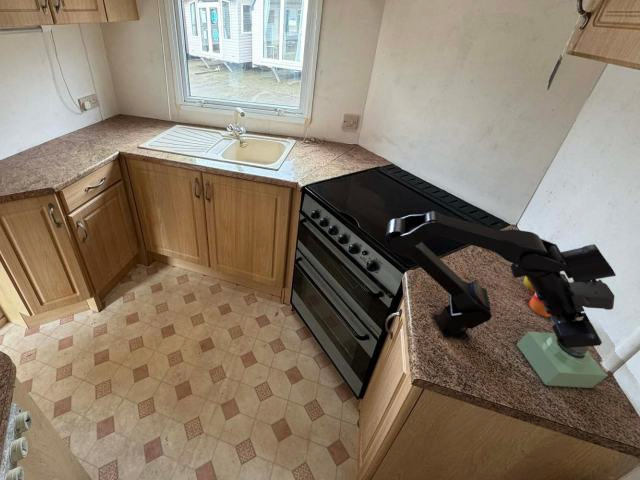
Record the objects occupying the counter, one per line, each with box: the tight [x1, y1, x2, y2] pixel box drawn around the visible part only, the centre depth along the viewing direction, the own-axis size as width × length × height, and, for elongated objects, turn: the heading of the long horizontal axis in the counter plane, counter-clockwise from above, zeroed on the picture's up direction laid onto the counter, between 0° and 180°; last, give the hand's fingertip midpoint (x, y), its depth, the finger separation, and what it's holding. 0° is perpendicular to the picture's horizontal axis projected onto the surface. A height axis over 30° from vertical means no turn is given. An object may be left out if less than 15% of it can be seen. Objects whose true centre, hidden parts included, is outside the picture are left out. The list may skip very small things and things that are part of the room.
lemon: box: [523, 276, 535, 293], centre depth 94 cm, size 6×6×8 cm
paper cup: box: [528, 271, 574, 318], centre depth 87 cm, size 8×8×14 cm
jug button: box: [558, 341, 588, 358], centre depth 72 cm, size 4×4×2 cm
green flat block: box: [515, 331, 609, 389], centre depth 74 cm, size 11×10×8 cm
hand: (579, 334), depth 70 cm, fingers closed
